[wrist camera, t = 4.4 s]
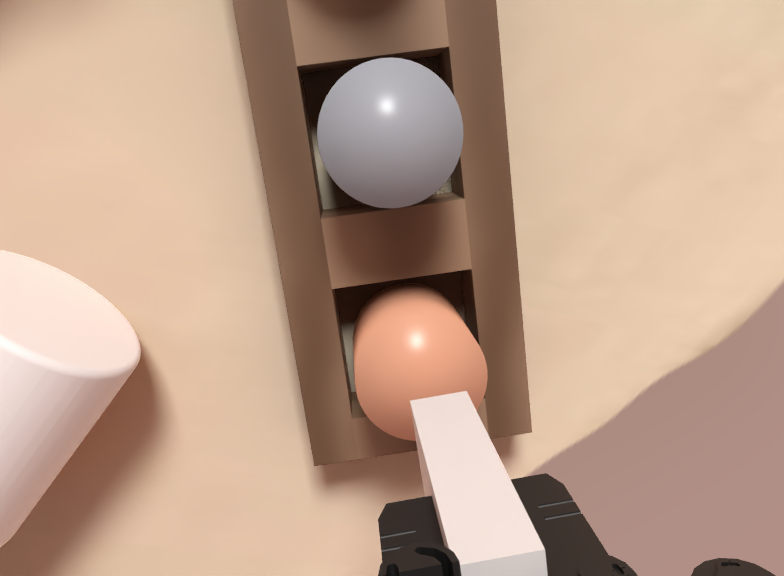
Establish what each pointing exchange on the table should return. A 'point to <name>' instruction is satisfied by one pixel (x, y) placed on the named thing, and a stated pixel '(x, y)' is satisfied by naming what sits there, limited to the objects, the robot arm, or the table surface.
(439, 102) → the slate button
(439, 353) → the peach rounded piece
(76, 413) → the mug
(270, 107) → the brown wooden slot rack
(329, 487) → the table surface
